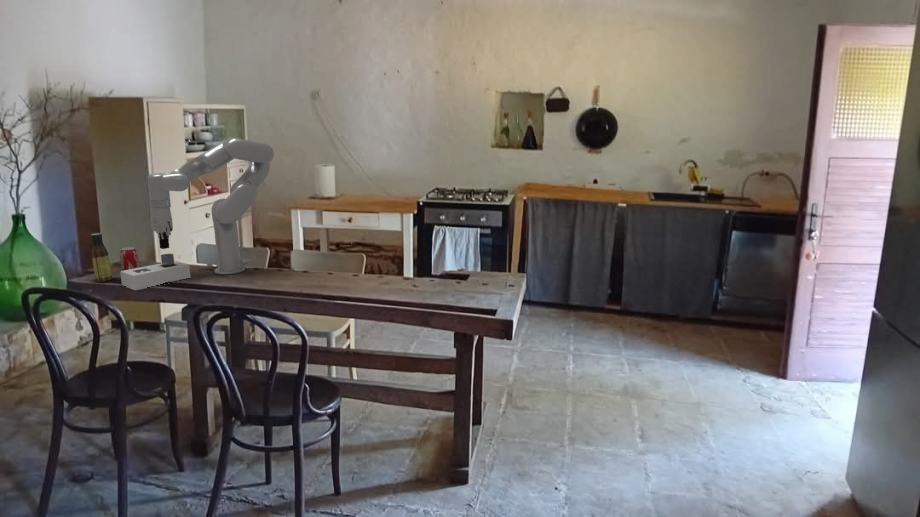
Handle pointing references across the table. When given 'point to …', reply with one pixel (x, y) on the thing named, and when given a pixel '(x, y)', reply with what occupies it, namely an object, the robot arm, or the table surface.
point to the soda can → (129, 258)
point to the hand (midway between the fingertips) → (164, 248)
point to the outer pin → (141, 270)
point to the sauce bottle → (100, 259)
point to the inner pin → (167, 260)
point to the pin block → (154, 275)
